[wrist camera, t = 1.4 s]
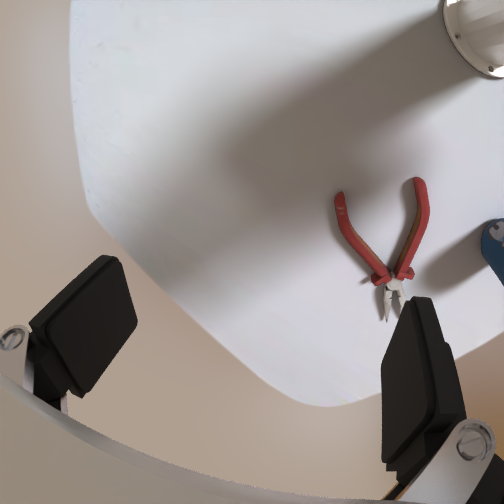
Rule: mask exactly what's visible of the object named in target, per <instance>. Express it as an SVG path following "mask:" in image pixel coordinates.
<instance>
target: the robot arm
mask: <svg viewBox="0 0 504 504" xmlns="http://www.w3.org/2000/svg"><path fill="white" fill-rule="evenodd" d="M443 16H444V23H445V26H446V29H447V32H448V34H449V36H450V38H451V41H452V42H453V44H454V45H455V47H456V49H457V50H458V51H459V52H460V54H461V55H462V56H463V57H464V58H465V59H466V60H467V61H468V62H469V63H470V64H471V65H472V66H473V67H475V68H476V69H477V70H479V71H481V72H483V73H484V74H487V75H490V76H492V77H499V78H503V77H504V0H445V2H444V6H443ZM455 36H456V37H457V38H456V37H455ZM488 68H489V70H488ZM137 322H138V320H137V316H136V313H135V309H134V306H133V303H132V300H131V296H130V293H129V289H128V285H127V282H126V278H125V274H124V271H123V267H122V264H121V262H119V260H118V258H117V257H114V256H108V255H101V256H100V257H98V258H97V259H96V260H95V261H94V262H93V263H91V264H90V265H89V266H88V267H87V268H86V269H85V270H84V271H82V272H81V273H80V274H79V275H78V276H77V277H76V278H75V279H74V280H72V281H71V282H70V283H69V284H68V285H67V286H66V287H65V288H64V289H63V290H62V291H61V292H59V293H58V294H57V295H56V296H55V297H54V298H53V299H52V300H51V301H50V302H49V303H48V304H47V305H46V306H45V307H44V308H43V309H42V310H41V311H40V312H39V313H38V314H37V315H36V316H35V317H34V318H33V319H32V320H31V321H30V322H29V325H30V327H31V329H32V332H31V333H29V331H28V329H27V327H25V326H23V325H14V326H12V327H9V328H8V329H6V330H5V331H4V332H3V333H2V334H1V335H0V504H504V461H503V460H502V459H501V458H500V457H499V456H497V455H496V454H495V449H496V438H495V434H494V432H493V430H492V429H491V427H490V426H489V425H488V424H487V423H486V422H484V421H482V420H479V419H474V418H471V419H467V417H466V411H465V406H464V401H463V396H462V391H461V387H460V383H459V378H458V374H457V370H456V366H455V362H454V358H453V355H452V351H451V348H450V346H449V344H448V343H447V342H445V341H444V337H443V334H442V331H441V327H440V324H439V321H438V318H437V314H436V311H435V308H434V305H433V302H432V300H431V298H427V297H416V296H413V297H412V298H411V300H410V301H405V303H404V306H403V309H402V311H401V314H400V317H399V320H398V322H397V325H396V328H395V330H394V333H393V336H392V338H391V341H390V343H389V346H388V348H387V351H386V353H385V355H384V358H383V360H382V364H381V388H382V456H381V458H382V462H383V463H386V471H397V477H396V480H397V481H398V482H397V483H396V485H395V486H394V487H393V488H392V489H391V490H390V491H389V492H388V493H387V494H386V495H385V496H384V497H383V498H382V499H381V500H365V499H342V498H328V497H319V496H310V495H302V494H295V493H288V492H281V491H275V490H269V489H264V488H259V487H254V486H249V485H244V484H240V483H236V482H232V481H227V480H224V479H220V478H216V477H212V476H209V475H205V474H202V473H198V472H195V471H192V470H189V469H186V468H183V467H180V466H177V465H174V464H171V463H168V462H166V461H163V460H160V459H157V458H155V457H152V456H150V455H147V454H145V453H142V452H140V451H137V450H135V449H133V448H131V447H128V446H126V445H124V444H122V443H119V442H117V441H115V440H112V439H111V438H108V437H107V436H105V435H103V434H100V433H99V432H97V431H94V430H92V429H91V428H89V427H87V426H85V425H83V424H81V423H80V422H78V421H76V420H74V419H72V418H70V417H69V416H68V409H67V394H66V392H67V391H68V389H69V390H70V392H71V393H72V394H74V395H76V396H78V397H80V398H83V397H84V395H85V394H86V393H88V392H90V391H91V389H92V388H93V387H94V385H95V384H96V382H97V381H98V379H99V378H100V376H101V375H102V374H103V372H104V371H105V369H106V368H107V367H108V365H109V364H110V363H111V361H112V360H113V358H114V357H115V356H116V354H117V353H118V352H119V350H120V349H121V347H122V346H123V345H124V343H125V342H126V341H127V339H128V338H129V337H130V335H131V334H132V332H133V331H134V330H135V328H136V326H137Z"/></svg>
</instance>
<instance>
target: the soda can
mask: <svg viewBox="0 0 504 504" xmlns="http://www.w3.org/2000/svg"><path fill="white" fill-rule="evenodd" d="M481 251H482V255H483V257H484V258H485V260H486V261H487V262H488V264H489V265H490V267H491V268H492V270H493V271H494V272H495V274H496V275H497V277H498V278H499V280H500V281H501V283H502V284H503V286H504V218H501V219H497V220H494V221H492V222H491V223H490V224H489V225H488V226H487V227H486V228H485V230H484V232H483V235H482V241H481Z"/></svg>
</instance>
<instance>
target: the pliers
mask: <svg viewBox="0 0 504 504" xmlns="http://www.w3.org/2000/svg"><path fill="white" fill-rule="evenodd" d="M413 180H414V186H415V192H416V198H417V215H416V219H415V222H414V224H413V227H412V229H411V232H410V234H409V236H408V239H407V241H406V243H405V246H404V248H403V250H402V252H401V255H400V257H399V259H398V261H397V263H396V266H395V268H394V270H393V271H389V270H388V268H387V267H386V266H385V265H384V264H383V262H382V261H381V260H380V259H379V258H378V257H377V255H376V254H375V253H374V252H373V251H372V250H371V249H370V247H369V246H368V245H367V244H366V243H365V242H364V241H363V239H362V238H361V237H360V236H359V235H358V234H357V233H356V231H355V230H354V228H353V227H352V225H351V223H350V221H349V218H348V214H347V208H346V203H345V198H344V193H343V192H340V193H338V194H337V195H336V197H335V200H334V202H335V208H336V213H337V219H338V224H339V228H340V230H341V232H342V234H343V236H344V237H345V239H346V240H347V241H348V243H349V244H350V245H351V246H352V247H353V248H354V249H355V250H356V252H357V253H358V254H359V255H360V256H361V257H362V258H363V259H364V260H365V261H366V263H367V264H368V265H369V266H370V267H371V268H372V269H373V270H374V272H375V273H374V274H372V275H371V280H372V283H373V284H374V285H375V286H378V285H380V284H381V283H383V282H384V283H385V285H384V296H383V301H384V309H385V317H386V322H387V320H388V316H389V312H390V307H391V302H392V291H393V290H396V291H397V294H398V298H399V301H400V304H401V308H402V309H403V306H404V303H405V301H406V297H405V293H404V289H403V286H402V283H401V280H402V281H403V280H404V278H407V279H410V280H412V279H413V277H414V275H415V273H414V271H413V269H412V267H409V266H410V263H411V261H412V259H413V257H414V255H415V253H416V251H417V248H418V246H419V244H420V242H421V239H422V237H423V235H424V233H425V230H426V227H427V224H428V220H429V215H430V206H429V200H428V194H427V188H426V184H425V182H424V181H423V180H422V179H421V178H419V177H414V178H413Z"/></svg>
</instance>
